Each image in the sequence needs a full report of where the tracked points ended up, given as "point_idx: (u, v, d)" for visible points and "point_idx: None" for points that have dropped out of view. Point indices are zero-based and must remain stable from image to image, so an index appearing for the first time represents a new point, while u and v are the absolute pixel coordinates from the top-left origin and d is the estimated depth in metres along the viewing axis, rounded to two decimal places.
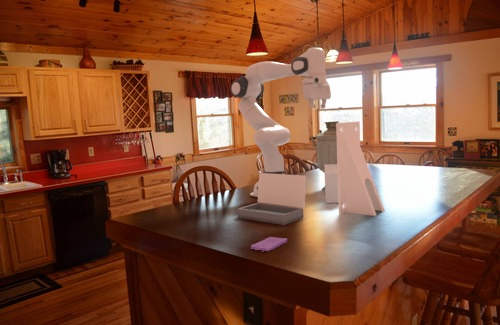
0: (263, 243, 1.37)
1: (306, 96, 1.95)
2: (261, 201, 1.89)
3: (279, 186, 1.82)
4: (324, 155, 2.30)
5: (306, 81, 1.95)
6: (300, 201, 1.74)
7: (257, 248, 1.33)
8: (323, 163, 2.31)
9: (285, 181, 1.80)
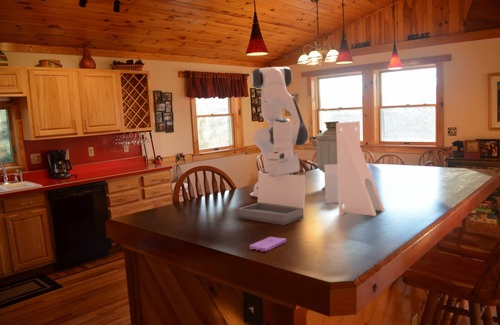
0: (262, 243, 1.37)
1: (271, 174, 1.77)
2: (261, 201, 1.89)
3: (279, 186, 1.82)
4: (324, 155, 2.30)
5: (271, 157, 1.77)
6: (300, 201, 1.74)
7: (255, 248, 1.33)
8: (323, 163, 2.31)
9: (284, 181, 1.80)
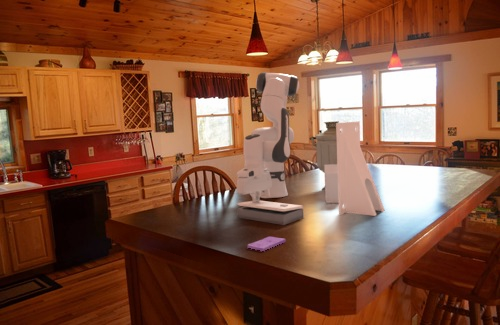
0: (260, 242, 1.37)
1: (240, 192, 1.74)
2: None
3: None
4: (324, 155, 2.30)
5: (240, 175, 1.74)
6: None
7: (253, 247, 1.34)
8: (323, 163, 2.31)
9: None
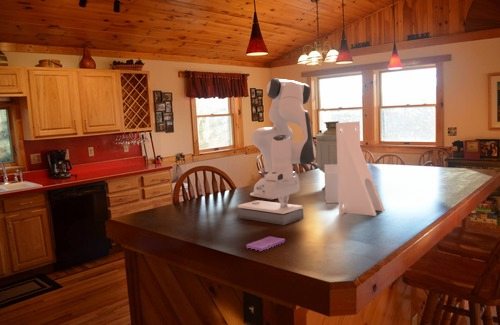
0: (259, 242, 1.38)
1: (268, 196, 1.63)
2: None
3: None
4: (324, 155, 2.30)
5: (268, 178, 1.64)
6: None
7: (252, 247, 1.34)
8: (323, 163, 2.31)
9: None
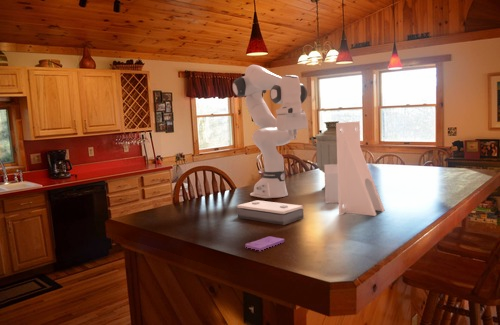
0: (258, 242, 1.38)
1: (279, 128, 1.81)
2: None
3: None
4: (324, 155, 2.30)
5: (279, 112, 1.81)
6: None
7: (250, 247, 1.35)
8: (323, 163, 2.31)
9: None
